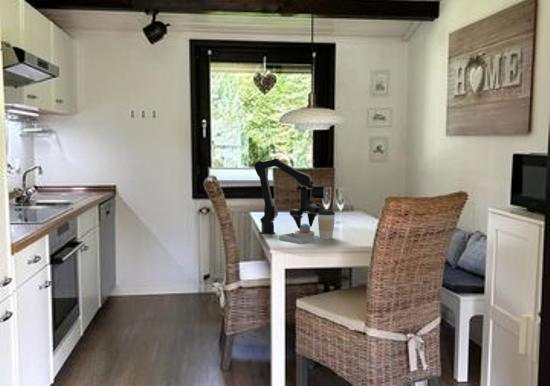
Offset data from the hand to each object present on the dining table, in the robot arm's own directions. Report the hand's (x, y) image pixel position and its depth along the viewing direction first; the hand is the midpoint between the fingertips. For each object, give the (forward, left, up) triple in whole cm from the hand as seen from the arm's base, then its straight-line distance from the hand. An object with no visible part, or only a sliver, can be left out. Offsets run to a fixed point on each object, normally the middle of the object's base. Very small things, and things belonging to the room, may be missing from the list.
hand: (305, 227), depth 282 cm
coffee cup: (+12, +3, -4) cm, 13 cm away
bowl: (0, 0, -4) cm, 4 cm away
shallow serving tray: (+6, -13, -4) cm, 15 cm away
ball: (0, 0, -4) cm, 4 cm away
